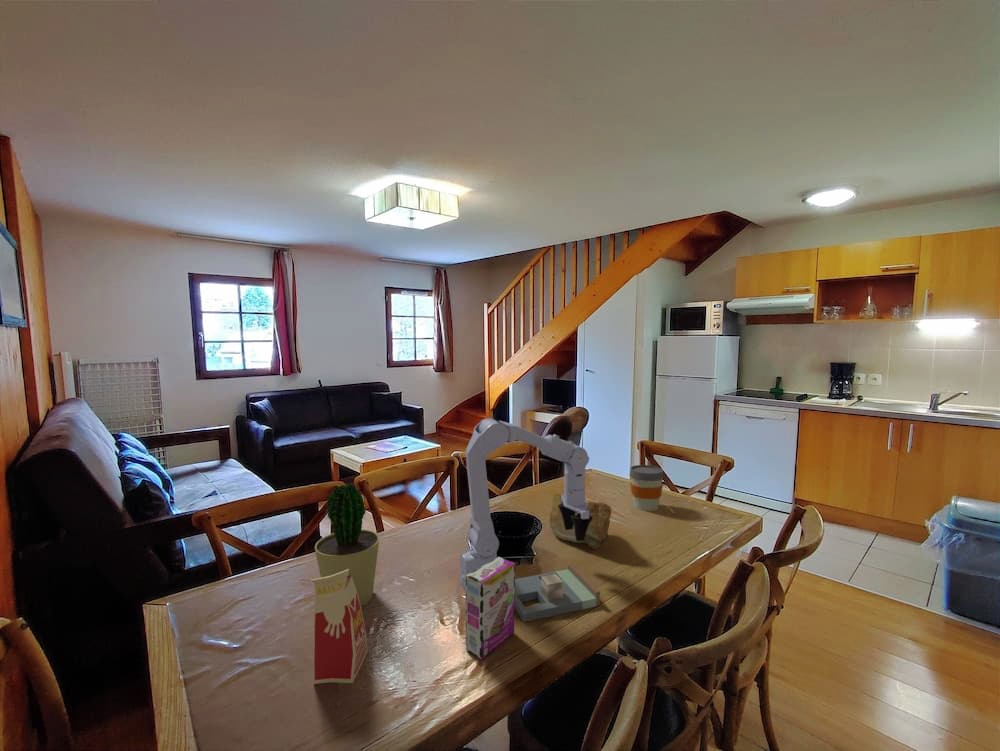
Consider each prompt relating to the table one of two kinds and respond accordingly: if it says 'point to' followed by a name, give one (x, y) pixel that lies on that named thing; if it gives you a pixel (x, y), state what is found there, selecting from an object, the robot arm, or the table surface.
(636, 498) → the reusable coffee cup
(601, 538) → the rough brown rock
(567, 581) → the board
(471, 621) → the candy bar box
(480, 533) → the robot arm
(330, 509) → the potted cactus
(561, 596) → the block
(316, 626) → the milk carton
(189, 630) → the table surface
